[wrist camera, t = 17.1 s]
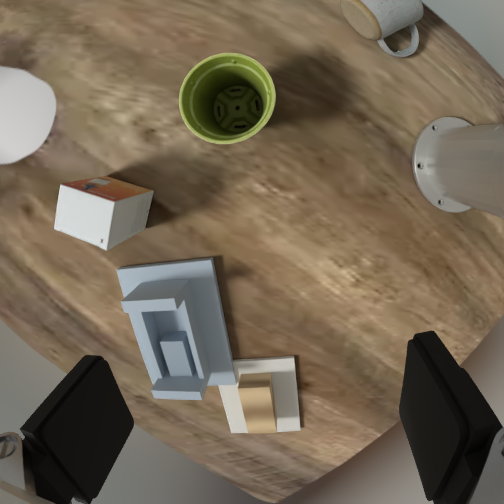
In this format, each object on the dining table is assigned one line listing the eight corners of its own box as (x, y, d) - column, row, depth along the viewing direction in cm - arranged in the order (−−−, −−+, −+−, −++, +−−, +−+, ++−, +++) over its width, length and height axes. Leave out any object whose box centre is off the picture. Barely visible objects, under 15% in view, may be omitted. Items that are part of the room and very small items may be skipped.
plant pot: (283, 140, 37) (282, 135, 29) (206, 153, 38) (186, 152, 30) (270, 68, 35) (266, 45, 26) (195, 82, 36) (173, 65, 28)
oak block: (240, 373, 46) (237, 388, 43) (270, 372, 46) (269, 386, 42) (250, 418, 49) (248, 433, 46) (277, 417, 48) (276, 432, 45)
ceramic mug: (331, 10, 32) (340, -16, 24) (374, -14, 29) (389, -40, 22) (386, 71, 33) (408, 55, 26) (426, 44, 31) (451, 27, 24)
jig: (120, 267, 44) (94, 286, 37) (212, 257, 42) (198, 277, 35) (155, 380, 49) (139, 409, 42) (237, 380, 48) (230, 412, 40)
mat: (293, 355, 45) (294, 357, 45) (300, 427, 50) (300, 430, 49) (213, 360, 47) (212, 362, 46) (231, 430, 51) (231, 432, 51)
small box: (155, 190, 40) (117, 201, 30) (145, 230, 42) (107, 252, 32) (105, 174, 40) (59, 182, 30) (97, 213, 42) (52, 229, 32)
